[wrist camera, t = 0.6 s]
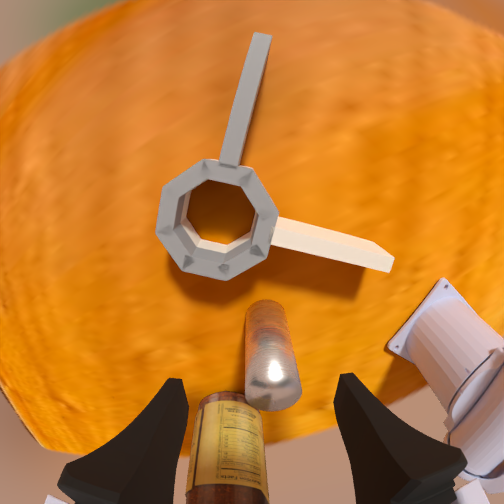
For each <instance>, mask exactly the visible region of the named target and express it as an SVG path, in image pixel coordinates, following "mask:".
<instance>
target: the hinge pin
mask: <svg viewBox="0 0 504 504" xmlns="http://www.w3.org/2000/svg"><path fill="white" fill-rule="evenodd" d="M301 394H302V388H301V383H300V378H299V374H298V369H297V364H296V360H295V355H294V351H293V346H292V342H291V337H290V333H289V328H288V324H287V319H286V315H285V311H284V309H283V307H282V306H281V305H280V304H279V303H277V302H275V301H272V300H260V301H257V302H255V303H254V304H252V305H251V306H250V307H249V308H248V310H247V312H246V336H245V398H246V400H247V402H248V403H249V404H250V405H251V406H252V407H254V408H256V409H259V410H263V411H279V410H283V409H286V408H288V407H290V406H292V405H294V404H295V403H296V402H297V401H298V400H299V398H300V397H301Z"/></svg>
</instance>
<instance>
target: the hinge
mask: <svg viewBox="0 0 504 504" xmlns="http://www.w3.org/2000/svg"><path fill="white" fill-rule="evenodd" d="M271 40H272V36H271V35H267V34H262V33H257V32H254V35H253V38H252V41H251V44H250V47H249V51H248V54H247V57H246V61H245V64H244V68H243V71H242V74H241V78H240V81H239V85H238V89H237V92H236V96H235V100H234V103H233V107H232V111H231V115H230V118H229V122H228V126H227V130H226V134H225V138H224V142H223V146H222V150H221V154H220V159H219V160H215V159H202V160H201V161H199V162H198V163H196V164H195V165H193V166H192V167H190V168H189V169H187V170H186V171H184V172H183V173H182V174H180V175H179V176H177V177H176V178H174V179H173V180H171V181H170V182H169V183H167V184H166V185H164V186H163V188H162V194H161V199H160V205H159V212H158V218H157V225H156V232H155V233H156V235H157V236H158V238H159V239H160V241H161V242H162V244H163V245H164V247H165V248H166V249H167V251H168V252H169V254H170V255H171V257H172V258H173V259H174V261H175V262H176V264H177V265H178V266H179V268H180V269H181V270H182V271H184V272H189V273H193V274H197V275H202V276H206V277H210V278H215V279H219V280H224V281H226V280H227V281H228V280H230V279H231V278H233V277H235V276H237V275H238V274H240V273H242V272H244V271H245V270H247V269H249V268H251V267H252V266H254V265H256V264H258V263H259V262H261V261H263V260H265V259H266V258H267V255H268V252H269V248H270V244H271V245H275V246H279V247H283V248H288V249H292V250H296V251H301V252H305V253H309V254H313V255H318V256H322V257H326V258H330V259H334V260H338V261H343V262H347V263H351V264H355V265H359V266H363V267H368V268H372V269H376V270H380V271H384V272H388V273H389V272H390V269H391V267H392V264H393V262H394V259H395V258H394V257H393V256H391V255H390V254H389V253H387V252H386V251H385V250H383V249H382V248H381V247H379V246H378V245H377V244H375V243H374V242H372V241H369V240H365V239H362V238H358V237H354V236H351V235H347V234H344V233H340V232H336V231H333V230H329V229H325V228H321V227H318V226H314V225H310V224H306V223H302V222H298V221H294V220H290V219H286V218H282V217H278V215H279V211H278V210H277V208H276V206H275V204H274V203H273V201H272V199H271V198H270V196H269V194H268V193H267V191H266V189H265V188H264V186H263V185H262V183H261V181H260V180H259V178H258V176H257V175H256V173H255V172H254V170H253V168H251V167H246V166H242V165H240V161H241V157H242V153H243V149H244V145H245V141H246V137H247V133H248V129H249V125H250V121H251V118H252V114H253V110H254V106H255V102H256V99H257V95H258V91H259V88H260V84H261V80H262V77H263V73H264V69H265V66H266V62H267V59H268V55H269V50H270V45H271ZM208 179H209V180H214V181H219V182H223V183H228V184H232V185H237V186H241V188H242V189H243V191H244V192H245V194H246V196H247V197H248V199H249V200H250V202H251V204H252V205H253V207H254V208H255V210H256V211H255V215H254V219H253V223H252V227H251V231H250V232H248V233H247V234H245V235H243V236H242V237H240V238H238V239H237V240H235V241H233V242H232V243H230V244H228V245H225V244H220V243H216V242H212V241H207V240H203V239H201V238H200V237H199V235H198V234H197V232H196V231H195V229H194V228H193V226H192V225H191V223H190V222H189V220H188V219H187V217H186V215H187V210H188V205H189V200H190V195H191V190H193V189H194V188H196V187H197V186H199V185H200V184H202V183H203V182H205V181H206V180H208Z"/></svg>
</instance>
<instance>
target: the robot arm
mask: <svg viewBox="0 0 504 504" xmlns="http://www.w3.org/2000/svg"><path fill="white" fill-rule="evenodd" d="M445 285H446V286H445ZM395 346H396V347H395ZM387 347H388V348H389V350H391V351H393V352H394V353H396V354H398V355H400V356H401V357H403V358H405V359H406V360H408V361H410V362H412V363H413V364H415V365H416V366H417V368H418V369H419V371H420V372H421V374H422V375H423V377H424V378H425V380H426V381H427V383H428V384H429V386H430V387H431V389H432V390H433V392H434V393H435V395H436V396H437V398H438V400H439V401H440V403H441V404H442V406H443V407H444V409H445V411H446V412H447V414H448V417H447V418H446V420H445V421H444V422H443V423H444V424H445V426H446V428H447V430H448V432H447V434H446V436H445V438H444V441H443V443H442V442H440V441H437V440H435V439H433V438H431V437H429V436H427V435H425V434H423V433H421V432H419V431H418V430H416V429H414V428H413V427H411V426H409V425H408V424H407V423H405V422H404V421H402V420H401V419H400V418H398V417H397V416H396V415H395V414H393V413H392V412H391V411H390V410H389V409H388V408H386V407H385V406H384V405H383V404H382V403H381V402H380V401H379V400H378V399H377V398H376V397H375V396H374V395H373V394H372V393H371V392H370V391H369V390H368V389H367V388H366V387H365V385H364V384H363V383H362V382H361V381H360V380H359V379H358V378H357V377H356V376H355V374H354V373H346V374H340V378H339V382H338V386H337V390H336V394H335V398H334V402H333V403H334V409H335V414H336V419H337V423H338V426H339V429H340V432H341V435H342V438H343V441H344V444H345V447H346V450H347V453H348V457H349V460H350V464H351V470H352V475H353V482H354V489H355V496H356V504H490V503H489V501H488V499H487V497H486V494H485V492H484V490H485V491H486V492H487V493H488V494H494V493H501V492H504V339H503V338H502V337H501V336H500V335H499V334H498V333H497V332H496V331H495V330H493V329H492V328H491V327H490V326H489V325H488V324H487V323H486V322H485V321H483V320H482V319H481V318H480V317H479V316H478V315H477V314H476V312H475V311H474V310H473V309H472V308H471V307H470V305H469V304H468V303H467V302H466V301H465V300H464V298H463V297H462V296H461V295H460V294H459V293H458V292H457V290H456V289H455V288H454V287H453V286H452V285H451V284H450V283H449V282H448V281H447V280H446V279H445V278H441V279H440V280H439V281H438V282H437V284H436V285H435V286H434V288H433V289H432V290H431V292H430V293H429V294H428V296H427V297H426V298H425V300H424V301H423V302H422V304H421V305H420V306H419V307H418V309H417V310H416V311H415V312H414V314H413V315H412V316H411V317H410V318H409V320H408V321H407V322H406V323H405V324H404V325H403V327H402V328H401V329H400V330H399V331H398V332H397V334H396V335H395V336H394V337H393V338H392V339H391V340H390V341H389V343H388V345H387ZM188 411H189V405H188V402H187V398H186V394H185V390H184V386H183V382H182V379H176V378H169V379H167V381H166V382H165V383H164V385H163V386H162V387H161V389H160V390H159V391H158V393H157V394H156V395H155V397H154V398H153V399H152V400H151V401H150V403H149V404H148V405H147V406H146V407H145V409H144V410H143V411H142V412H141V413H140V414H139V415H138V416H137V417H136V418H135V419H134V420H133V421H132V422H131V423H130V424H129V425H128V426H127V427H126V428H125V429H124V430H123V431H122V432H120V433H119V434H118V435H117V436H115V437H114V438H113V439H111V440H110V441H109V442H107V443H106V444H104V445H103V446H101V447H100V448H98V449H96V450H95V451H93V452H91V453H89V454H88V455H86V456H84V457H81V458H79V459H77V460H75V461H72V462H70V463H67V464H66V466H65V467H64V469H63V471H62V474H61V477H60V479H59V481H58V484H57V486H58V487H59V489H60V490H61V491H62V492H64V493H65V494H66V495H67V496H69V497H70V498H71V499H72V500H74V501H75V504H173V496H174V484H175V475H176V468H177V462H178V458H179V454H180V450H181V446H182V442H183V438H184V434H185V430H186V426H187V419H188ZM456 476H459V477H460V478H462V479H464V480H467V481H470V482H469V483H467V484H465V485H464V486H462V487H461V488H459V489H457V490H456V491H454V490H453V487H454V486H455V482H454V480H453V479H454V478H455V477H456ZM483 489H484V490H483ZM44 504H69V503H67V502H65V501H63V500H60V499H58V498H56V497H54V496H52V495H50V494H49V495H48V496H47V498H46V501H45V503H44Z"/></svg>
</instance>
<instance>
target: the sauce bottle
mask: <svg viewBox="0 0 504 504" xmlns="http://www.w3.org/2000/svg"><path fill="white" fill-rule="evenodd" d="M185 495H186V504H269V493H268V483H267V472H266V460H265V448H264V437H263V426H262V418H261V415H260V412H259V409H256V408H254V407H252V406H251V405H250V404H249V403H248V402H247V400H246V398H245V395H243V394H240V393H237V392H230V391H224V392H218V393H215V394H211V395H209V396H207V397H205V398H204V399H203V400H202V401H201V402H200V404H199V409H198V413H197V415H196V417H195V424H194V431H193V438H192V445H191V453H190V461H189V469H188V477H187V485H186V494H185Z"/></svg>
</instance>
